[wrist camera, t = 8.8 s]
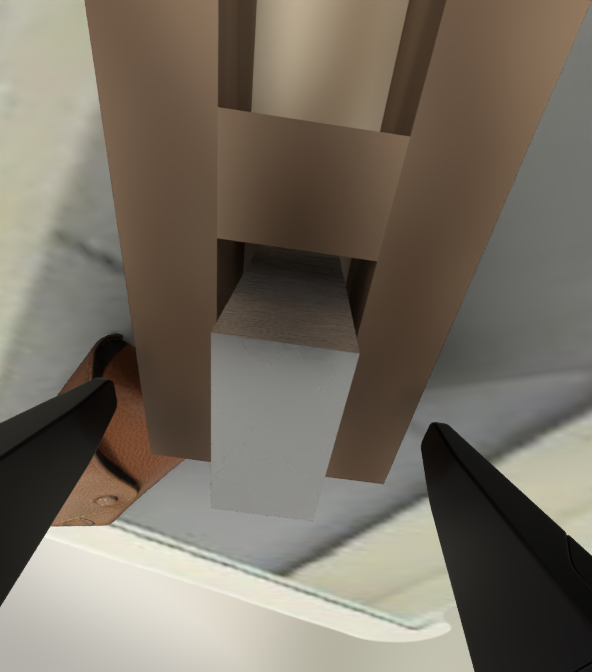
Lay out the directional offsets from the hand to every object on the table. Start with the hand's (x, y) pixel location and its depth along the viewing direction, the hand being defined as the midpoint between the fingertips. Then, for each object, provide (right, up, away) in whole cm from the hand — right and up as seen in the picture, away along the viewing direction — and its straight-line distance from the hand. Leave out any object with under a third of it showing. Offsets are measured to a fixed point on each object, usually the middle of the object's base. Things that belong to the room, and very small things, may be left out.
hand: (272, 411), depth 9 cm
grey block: (+1, +3, +6) cm, 7 cm away
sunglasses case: (-12, -5, +13) cm, 18 cm away
